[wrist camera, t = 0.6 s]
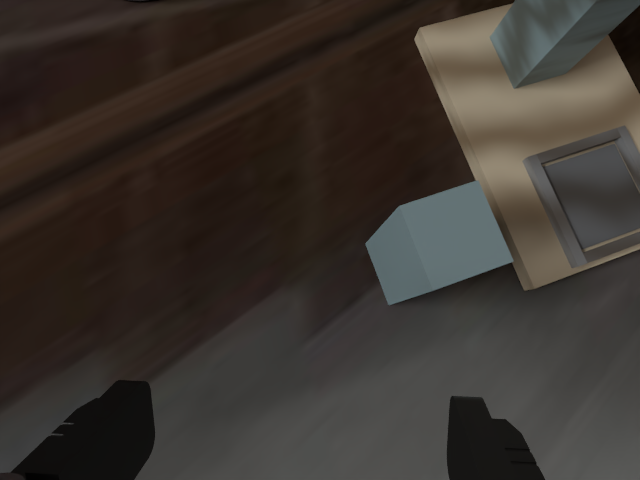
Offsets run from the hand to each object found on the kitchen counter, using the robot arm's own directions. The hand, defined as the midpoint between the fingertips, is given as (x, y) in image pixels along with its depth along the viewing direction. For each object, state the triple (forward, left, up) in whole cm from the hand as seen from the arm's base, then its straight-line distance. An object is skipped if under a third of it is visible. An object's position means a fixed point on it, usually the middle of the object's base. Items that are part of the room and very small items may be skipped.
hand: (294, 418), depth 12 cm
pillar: (-4, +11, -21) cm, 24 cm away
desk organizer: (-11, +27, -21) cm, 36 cm away
